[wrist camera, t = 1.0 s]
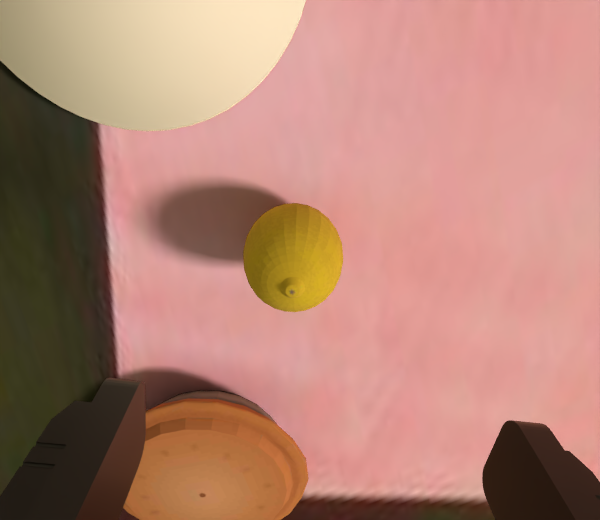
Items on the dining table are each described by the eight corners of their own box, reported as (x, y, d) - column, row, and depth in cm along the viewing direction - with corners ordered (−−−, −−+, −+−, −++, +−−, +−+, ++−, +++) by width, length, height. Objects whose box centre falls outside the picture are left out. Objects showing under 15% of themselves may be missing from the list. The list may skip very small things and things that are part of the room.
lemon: (237, 201, 27) (216, 258, 20) (323, 175, 27) (332, 224, 19) (267, 275, 30) (257, 350, 23) (346, 253, 29) (362, 323, 22)
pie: (97, 469, 38) (71, 525, 34) (154, 339, 32) (131, 387, 28) (259, 518, 41) (255, 576, 37) (339, 408, 35) (345, 462, 31)
